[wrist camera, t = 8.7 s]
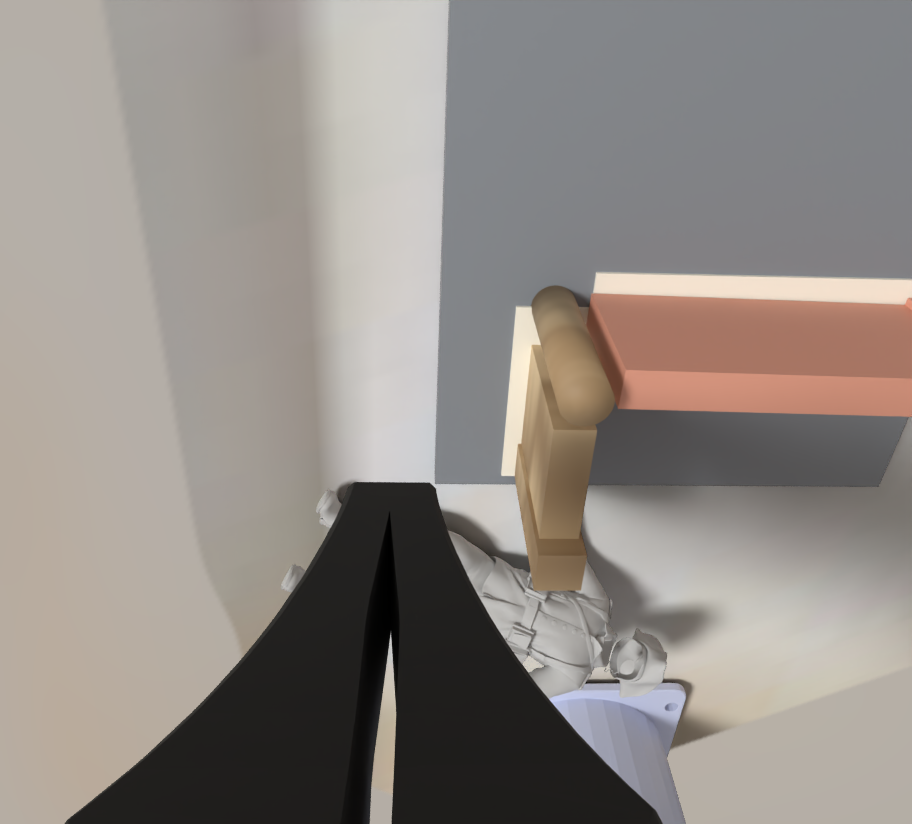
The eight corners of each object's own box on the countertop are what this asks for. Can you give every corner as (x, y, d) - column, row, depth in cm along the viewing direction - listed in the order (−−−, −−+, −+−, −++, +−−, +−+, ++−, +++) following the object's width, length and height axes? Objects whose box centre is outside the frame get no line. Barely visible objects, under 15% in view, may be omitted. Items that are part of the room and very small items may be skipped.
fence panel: (584, 334, 21) (622, 431, 17) (592, 286, 20) (634, 376, 16) (930, 346, 21) (1043, 442, 17) (950, 299, 20) (1074, 389, 17)
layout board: (869, 475, 25) (879, 488, 24) (434, 471, 24) (434, 485, 23) (1149, -195, 15) (1178, -199, 15) (456, -235, 15) (457, -241, 14)
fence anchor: (553, 474, 23) (580, 590, 19) (514, 474, 23) (533, 590, 19) (578, 286, 20) (619, 379, 16) (533, 284, 20) (561, 378, 16)
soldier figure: (361, 399, 24) (735, 547, 23) (375, 437, 28) (685, 561, 27) (248, 643, 22) (653, 819, 20) (284, 640, 26) (614, 784, 25)
